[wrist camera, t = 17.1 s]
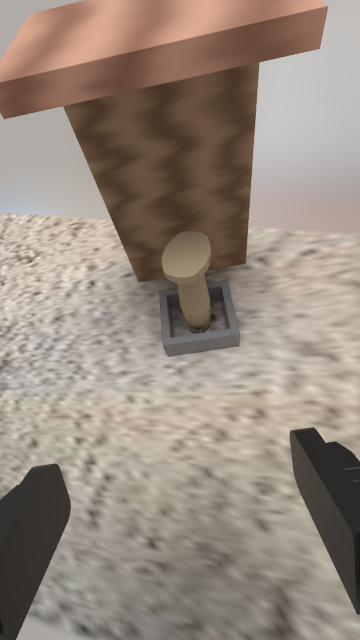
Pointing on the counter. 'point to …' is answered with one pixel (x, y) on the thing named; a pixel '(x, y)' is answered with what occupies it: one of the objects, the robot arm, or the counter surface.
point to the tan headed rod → (190, 276)
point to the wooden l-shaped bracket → (160, 107)
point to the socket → (199, 340)
